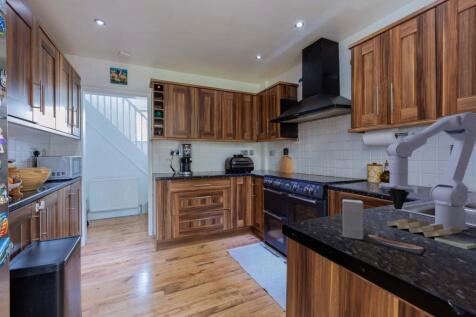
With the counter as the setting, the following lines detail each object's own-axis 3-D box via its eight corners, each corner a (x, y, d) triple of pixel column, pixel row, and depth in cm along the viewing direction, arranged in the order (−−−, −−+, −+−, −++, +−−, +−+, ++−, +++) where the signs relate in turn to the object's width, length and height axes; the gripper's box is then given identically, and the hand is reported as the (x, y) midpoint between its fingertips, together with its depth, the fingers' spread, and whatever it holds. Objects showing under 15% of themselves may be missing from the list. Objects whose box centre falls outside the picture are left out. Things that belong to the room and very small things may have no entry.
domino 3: (408, 228, 80) (432, 225, 73) (417, 226, 81) (441, 223, 74) (410, 232, 79) (434, 230, 72) (419, 231, 81) (444, 228, 74)
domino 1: (386, 221, 87) (406, 218, 80) (395, 220, 89) (415, 217, 82) (388, 226, 87) (408, 223, 80) (397, 225, 88) (417, 222, 81)
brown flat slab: (369, 234, 76) (425, 247, 65) (368, 236, 76) (425, 250, 65) (360, 238, 71) (420, 254, 60) (360, 241, 71) (420, 257, 60)
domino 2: (396, 224, 83) (418, 221, 76) (405, 223, 85) (427, 220, 78) (398, 229, 83) (420, 226, 76) (407, 228, 84) (429, 225, 78)
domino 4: (423, 232, 75) (449, 228, 69) (432, 230, 77) (458, 226, 70) (425, 237, 75) (452, 233, 68) (434, 235, 76) (461, 231, 70)
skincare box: (362, 236, 75) (362, 200, 75) (363, 240, 71) (363, 202, 71) (342, 233, 77) (342, 198, 77) (342, 237, 73) (342, 201, 73)
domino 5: (444, 240, 74) (476, 249, 66) (434, 242, 72) (467, 251, 65) (443, 236, 74) (476, 244, 66) (434, 237, 72) (467, 246, 65)
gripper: (373, 172, 91) (373, 205, 91) (412, 175, 77) (411, 214, 77) (385, 172, 93) (385, 204, 93) (425, 175, 80) (424, 212, 80)
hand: (398, 209), depth 86 cm, fingers closed
